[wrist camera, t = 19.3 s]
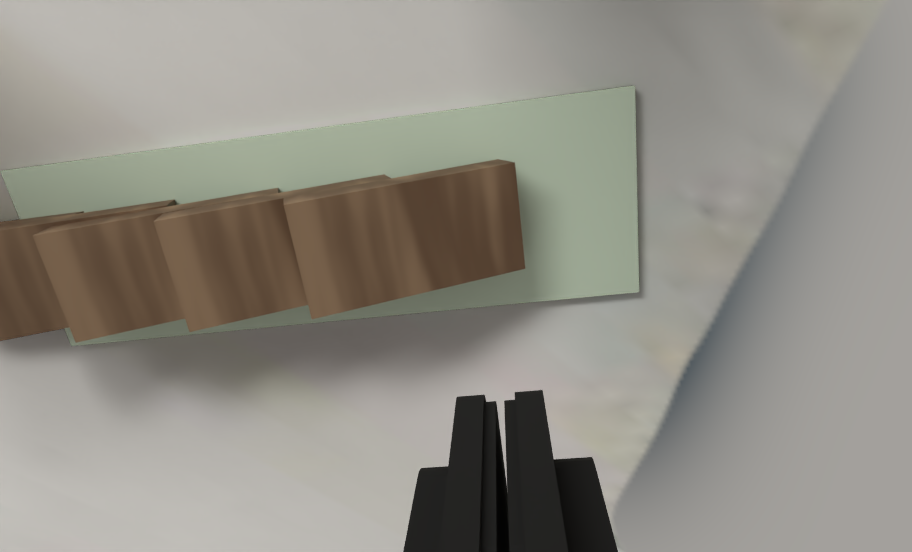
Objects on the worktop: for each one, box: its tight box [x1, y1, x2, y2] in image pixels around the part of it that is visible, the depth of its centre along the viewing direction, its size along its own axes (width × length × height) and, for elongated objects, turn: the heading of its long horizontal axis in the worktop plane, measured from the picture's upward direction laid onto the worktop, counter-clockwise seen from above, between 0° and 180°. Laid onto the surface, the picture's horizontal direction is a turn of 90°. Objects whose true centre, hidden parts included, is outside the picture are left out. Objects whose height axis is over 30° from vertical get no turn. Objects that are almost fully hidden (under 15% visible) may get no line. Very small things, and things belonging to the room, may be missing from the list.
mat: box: [0, 86, 639, 346], centre depth 33 cm, size 38×12×1 cm, turn 97°
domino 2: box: [33, 188, 279, 343], centre depth 30 cm, size 2×6×12 cm
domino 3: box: [153, 174, 391, 332], centre depth 30 cm, size 2×6×12 cm
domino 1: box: [0, 199, 176, 341], centre depth 31 cm, size 2×6×12 cm
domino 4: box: [284, 159, 525, 319], centre depth 29 cm, size 2×6×12 cm
